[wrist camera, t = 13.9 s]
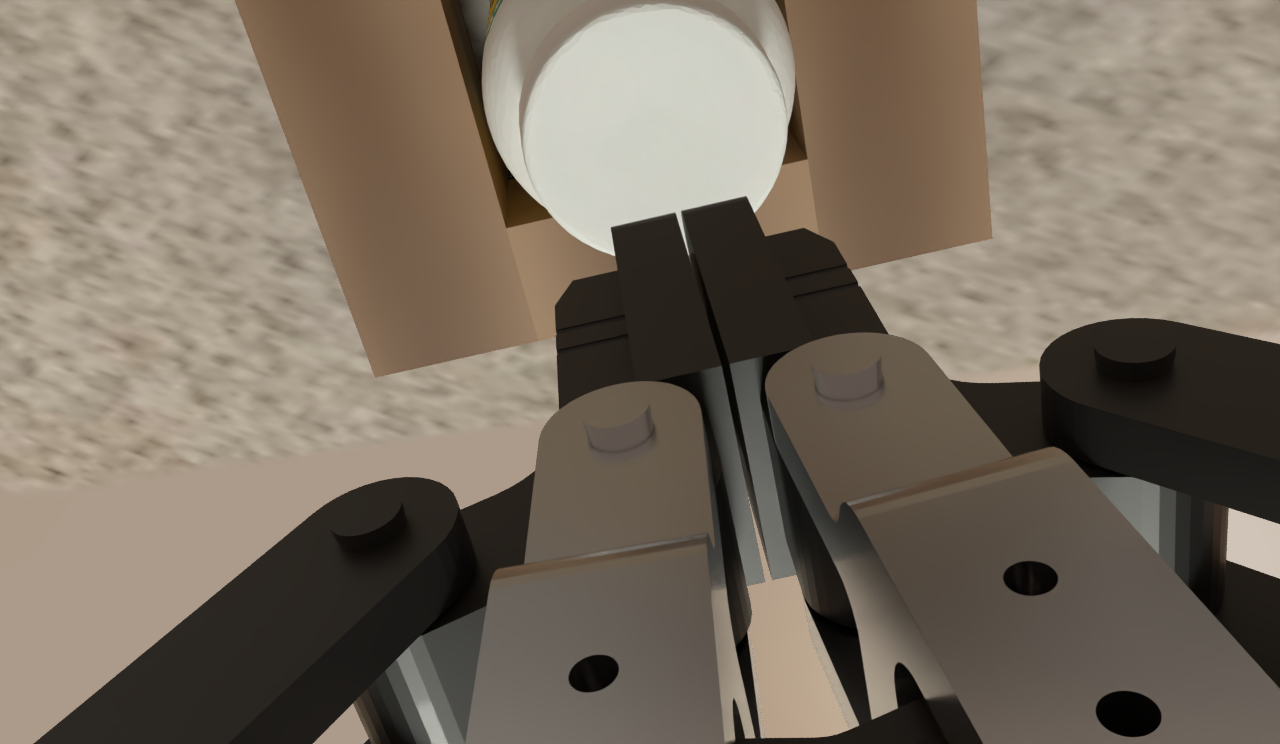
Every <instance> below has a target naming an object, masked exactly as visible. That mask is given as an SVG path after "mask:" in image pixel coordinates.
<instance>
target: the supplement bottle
mask: <svg viewBox="0 0 1280 744" xmlns="http://www.w3.org/2000/svg"><path fill="white" fill-rule="evenodd" d="M794 93H795V63H794V55H793V48H792V44H791V39H790V35H789V32H788V29H787V26H786V23H785V20H784V18H783V15H782V13H781V11H780V9H779V7H778V5H777V3H776V1H775V0H491V3H490V12H489V19H488V28H487V34H486V39H485V43H484V50H483V60H482V94H483V103H484V109H485V114H486V118H487V122H488V126H489V129H490V132H491V135H492V138H493V141H494V143H495V145H496V147H497V150H498V152H499V153H500V155H501V157H502V159H503V161H504V163H505V164H506V166H507V168H508V169H509V171H510V172H511V173H512V175H513V176H514V177H515V179H516V180H517V181H518V182H519V183H520V185H521V186H522V187H523V188H524V189H525V190H526V191H527V192H528V193H529V194H530V195H531V196H532V197H533V198H534V199H535V200H536V201H537V202H538V203H540V204H541V205H542V206H544V207H545V208H546V209H547V210H548V212H549V213H550V214H551V216H552V217H553V218H554V219H555V220H556V221H557V222H558V223H559V224H560V225H561V226H562V227H563V228H564V229H565V230H566V231H567V232H569V233H570V234H571V235H573V236H574V237H576V238H577V239H579V240H580V241H582V242H583V243H585V244H587V245H589V246H591V247H593V248H595V249H597V250H599V251H602V252H605V253H608V254H610V255H613V256H615V252H614V245H613V239H612V233H611V227H613V226H617V225H622V224H626V223H631V222H635V221H639V220H644V219H648V218H652V217H657V216H661V215H665V214H670V213H674V212H675V213H676V216H677V219H678V222H679V226H680V229H681V232H682V236H683V239H684V242H685V246H686V249H687V252H688V247H687V243H686V238H685V233H684V228H683V222H682V216H681V211H682V210H687V209H691V208H695V207H700V206H704V205H708V204H713V203H717V202H722V201H726V200H730V199H735V198H739V197H743V196H747V198H748V200H749V202H750V204H751V206H752V209H753V211H754V213H755V212H756V211H757V210H758V208H759V207H760V206H761V205H762V203H763V202H764V200H765V199H766V197H767V196H768V194H769V192H770V191H771V189H772V187H773V186H774V183H775V181H776V179H777V177H778V175H779V172H780V168H781V165H782V162H783V158H784V154H785V150H786V144H787V131H788V124H789V121H790V117H791V113H792V108H793V102H794ZM688 255H689V252H688Z"/></svg>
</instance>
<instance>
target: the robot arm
mask: <svg viewBox="0 0 1280 744" xmlns="http://www.w3.org/2000/svg"><path fill="white" fill-rule="evenodd" d="M681 216H682V222H683V228H684V233H685V238H686V243H687V247H688V252H689V256H688V252H687V249H686V246H685V242H684V239H683V236H682V232H681V229H680V226H679V222H678V219H677V216H676V213H675V212H674V213H670V214H665V215H661V216H657V217H652V218H648V219H644V220H639V221H635V222H631V223H626V224H622V225H617V226H613V227H611V233H612V239H613V245H614V252H615V258H616V264H617V271H612V272H608V273H604V274H599V275H595V276H590V277H586V278H582V279H577V280H573V281H572V282H571V284H570V285H569V286H568V288H567V289H566V291H565V292H564V293H563V295H562V296H561V298H560V299H559V300H558V302H557V303H556V305H555V326H556V333H557V335H556V348H557V354H558V355H557V371H558V393H559V411H557V412H556V413H555V414H554V415H553V416H552V417H551V418H550V419H549V421H548V422H547V423H546V424H545V426H544V428H543V430H542V431H541V434H540V438H539V444H538V452H537V461H536V469H535V471H534V472H533V473H532V474H530V475H529V476H528V477H526V478H525V479H524V480H522V481H520V482H519V483H517V484H516V485H514V486H512V487H510V488H509V489H506V490H504V491H502V492H500V493H498V494H496V495H494V496H492V497H489V498H487V499H485V500H482V501H480V502H478V503H476V504H473V505H471V506H469V507H466V508H464V509H462V510H460V508H459V505H458V502H457V500H456V498H455V496H454V493H453V492H452V491H451V490H450V489H449V488H448V487H446V486H444V485H443V484H441V483H440V482H436V481H434V480H430V479H425V478H418V477H403V478H393V479H388V480H382V481H378V482H375V483H371V484H368V485H364V486H362V487H359V488H357V489H354V490H351V491H349V492H347V493H345V494H343V495H341V496H339V497H337V498H336V499H334V500H332V501H330V502H329V503H327V504H326V505H324V506H323V507H321V508H320V509H319V510H317V511H316V512H315V513H313V514H312V515H311V516H310V517H308V518H307V519H306V520H305V521H304V522H302V523H301V524H300V525H299V526H298V527H296V528H295V529H294V530H293V531H291V532H290V533H289V534H288V535H287V536H285V537H284V538H283V539H282V540H281V541H279V542H278V543H277V544H276V545H274V546H273V547H272V548H271V549H270V550H268V551H267V552H266V553H265V554H264V555H262V556H261V557H260V558H259V559H257V560H256V561H255V562H254V563H253V564H251V566H249V567H248V568H247V569H245V570H244V571H243V572H242V573H241V574H239V575H238V576H237V577H236V578H234V579H233V580H232V581H231V582H229V583H228V584H227V585H226V586H225V587H223V588H222V589H221V590H220V591H219V592H217V593H216V594H215V595H214V596H213V597H211V598H210V599H209V600H208V601H206V602H205V603H204V604H203V605H202V606H201V607H199V608H198V609H197V610H196V611H194V612H193V613H192V614H191V615H189V616H188V617H187V618H186V619H185V620H183V621H182V622H181V623H180V624H178V625H177V626H176V627H175V628H174V629H172V630H171V631H170V632H169V633H168V634H166V635H165V636H164V637H163V638H161V639H160V640H159V641H158V642H157V643H155V644H154V645H153V646H152V647H151V648H150V649H148V650H147V651H146V652H145V653H143V654H142V655H141V656H140V657H138V658H137V659H136V660H135V661H134V662H132V663H131V664H130V665H129V666H128V667H126V668H125V669H124V670H123V671H121V672H120V673H119V674H118V675H116V677H114V678H113V679H112V680H110V681H109V682H108V683H107V684H106V685H104V686H103V687H102V688H101V689H99V690H98V691H97V692H96V693H95V694H93V695H92V696H91V697H90V698H89V699H87V700H86V701H85V702H84V703H83V704H81V705H80V706H79V707H78V708H77V709H75V710H74V711H73V712H72V713H70V714H69V715H68V716H67V717H65V718H64V719H63V720H62V721H61V722H59V723H58V724H57V725H56V726H55V727H53V728H52V729H51V730H50V731H49V732H47V733H46V734H45V735H44V736H42V737H41V738H40V739H39V740H38V741H36V742H35V743H34V744H313V743H314V742H315V741H316V740H317V739H318V738H319V737H320V736H321V735H322V734H323V733H324V732H325V731H326V730H327V729H328V728H329V726H330V725H331V724H332V723H334V722H335V720H337V718H339V717H340V716H341V715H342V714H343V713H344V712H345V711H346V709H348V707H350V706H351V704H352V703H353V704H354V706H355V708H356V711H357V713H358V715H359V717H360V720H361V722H362V724H363V726H364V728H365V731H366V733H367V735H368V737H369V739H368V740H367V741H366V742H365V743H364V744H1280V579H1279V578H1276V577H1273V576H1270V575H1267V574H1264V573H1261V572H1259V571H1256V570H1253V569H1250V568H1247V567H1244V566H1242V565H1238V564H1236V563H1233V562H1230V561H1227V560H1226V551H1227V529H1228V509H1229V508H1231V509H1234V510H1237V511H1241V512H1244V513H1247V514H1250V515H1253V516H1256V517H1260V518H1263V519H1266V520H1269V521H1272V522H1275V523H1278V524H1280V344H1276V343H1271V342H1267V341H1262V340H1258V339H1253V338H1248V337H1244V336H1239V335H1235V334H1230V333H1225V332H1221V331H1216V330H1211V329H1207V328H1202V327H1197V326H1193V325H1188V324H1184V323H1179V322H1173V321H1167V320H1161V319H1149V318H1128V319H1115V320H1108V321H1102V322H1097V323H1093V324H1089V325H1085V326H1083V327H1080V328H1077V329H1074V330H1072V331H1070V332H1068V333H1066V334H1064V335H1062V336H1060V337H1059V338H1058V339H1056V340H1055V341H1053V342H1052V343H1051V344H1050V345H1049V346H1048V347H1047V348H1046V349H1045V351H1044V353H1043V354H1042V356H1041V360H1040V364H1039V367H1040V382H1014V383H970V382H960V381H954V380H949V378H948V377H947V376H946V375H945V374H944V372H943V371H942V370H941V369H940V367H939V366H938V365H937V364H936V363H935V361H934V360H933V359H932V358H931V356H930V355H929V354H928V353H927V352H926V351H925V350H924V349H923V348H922V347H920V346H919V345H917V344H915V343H914V342H912V341H909V340H907V339H904V338H902V337H898V336H894V335H889V334H888V332H887V331H886V329H885V327H884V326H883V324H882V322H881V321H880V319H879V317H878V315H877V314H876V312H875V310H874V309H873V307H872V305H871V304H870V302H869V300H868V298H867V297H866V295H865V293H864V292H863V290H862V288H861V287H860V286H858V282H857V280H856V278H855V276H854V275H853V273H852V271H851V270H850V268H848V266H847V263H846V261H845V260H844V258H843V256H842V254H841V253H840V251H839V249H838V248H837V246H836V244H835V243H834V242H833V241H831V240H829V239H827V238H824V237H822V236H820V235H818V234H816V233H814V232H812V231H810V230H808V229H806V228H800V229H796V230H792V231H787V232H783V233H778V234H774V235H770V236H765V235H764V232H763V230H762V228H761V226H760V224H759V222H758V219H757V217H756V215H755V213H754V211H753V209H752V206H751V204H750V202H749V200H748V198H747V196H743V197H739V198H735V199H730V200H726V201H722V202H717V203H713V204H708V205H704V206H700V207H695V208H691V209H687V210H682V211H681ZM689 257H690V259H689ZM747 493H748V494H747ZM748 497H749V499H748ZM749 500H750V504H751V507H752V510H753V514H754V518H755V521H756V525H757V528H758V532H759V535H760V539H761V542H762V546H763V549H764V553H765V556H766V559H767V563H768V567H769V570H770V574H771V577H772V580H775V579H779V578H784V577H789V576H793V575H797V577H798V580H799V583H800V586H801V589H802V593H803V599H804V605H805V610H806V615H807V621H808V627H809V632H810V636H811V639H812V643H813V645H814V648H815V650H816V652H817V655H818V657H819V659H820V662H821V664H822V666H823V669H824V671H825V673H826V676H827V678H828V680H829V683H830V685H831V687H832V690H833V692H834V694H835V697H836V699H837V701H838V704H839V706H840V708H841V711H842V713H843V715H844V718H845V720H846V723H847V725H848V727H849V729H850V730H848V731H845V732H843V733H840V734H837V735H833V736H829V737H819V738H765V734H764V727H763V720H762V712H761V704H760V697H759V689H758V682H757V674H756V666H755V660H754V653H753V648H752V644H751V639H750V634H749V630H748V628H749V625H750V623H751V615H752V610H751V603H750V598H749V594H748V589H747V586H749V585H754V584H758V583H763V582H765V579H764V574H763V569H762V564H761V559H760V554H759V549H758V544H757V539H756V534H755V529H754V524H753V519H752V514H751V509H750V504H749Z"/></svg>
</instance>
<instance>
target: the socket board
mask: <svg viewBox="0 0 1280 744" xmlns="http://www.w3.org/2000/svg"><path fill="white" fill-rule="evenodd" d="M775 1H776V3H777V5H778V7H779V9H780V11H781V13H782V15H783V18H784V20H785V23H786V26H787V29H788V32H789V35H790V39H791V44H792V48H793V55H794V63H795V93H794V102H793V108H792V113H791V117H790V121H789V124H788V131H787V144H786V150H785V154H784V158H783V162H782V165H781V168H780V172H779V175H778V177H777V179H776V181H775V183H774V186H773V187H772V189H771V191H770V192H769V194H768V196H767V197H766V199H765V200H764V202H763V203H762V205H761V206H760V207H759V208H758V210H757V211H756V212H755V215H756V217H757V219H758V222H759V224H760V226H761V228H762V230H763V232H764V235H765V236H770V235H774V234H778V233H783V232H787V231H792V230H796V229H800V228H806V229H808V230H810V231H812V232H814V233H816V234H818V235H820V236H822V237H824V238H827V239H829V240H831V241H833V242H834V243H835V244H836V246H837V248H838V249H839V251H840V253H841V254H842V256H843V258H844V260H845V261H846V263H847V266H848V268H850V270H854V269H859V268H863V267H868V266H872V265H876V264H881V263H885V262H890V261H894V260H899V259H903V258H908V257H912V256H916V255H921V254H925V253H930V252H934V251H939V250H943V249H947V248H952V247H956V246H961V245H965V244H970V243H974V242H978V241H983V240H987V239H992V227H991V212H990V197H989V183H988V168H987V153H986V138H985V124H984V109H983V94H982V79H981V64H980V50H979V35H978V20H977V5H976V0H775ZM235 2H236V5H237V8H238V10H239V13H240V16H241V18H242V21H243V24H244V26H245V29H246V32H247V34H248V37H249V40H250V42H251V45H252V48H253V50H254V53H255V56H256V59H257V61H258V64H259V67H260V69H261V72H262V75H263V77H264V80H265V83H266V85H267V88H268V91H269V93H270V96H271V99H272V101H273V104H274V107H275V110H276V112H277V115H278V118H279V120H280V123H281V126H282V128H283V131H284V134H285V136H286V139H287V142H288V144H289V147H290V150H291V152H292V155H293V158H294V161H295V163H296V166H297V169H298V171H299V174H300V177H301V179H302V182H303V185H304V187H305V190H306V193H307V195H308V198H309V201H310V203H311V206H312V209H313V212H314V214H315V217H316V220H317V222H318V225H319V228H320V230H321V233H322V236H323V238H324V241H325V244H326V246H327V249H328V252H329V255H330V257H331V260H332V263H333V265H334V268H335V271H336V273H337V276H338V279H339V281H340V284H341V287H342V289H343V292H344V295H345V297H346V300H347V303H348V306H349V308H350V311H351V314H352V316H353V319H354V322H355V324H356V327H357V330H358V332H359V335H360V338H361V340H362V343H363V346H364V348H365V351H366V354H367V357H368V359H369V362H370V365H371V367H372V370H373V373H374V375H375V377H380V376H384V375H389V374H393V373H398V372H402V371H406V370H411V369H415V368H420V367H424V366H429V365H433V364H437V363H442V362H446V361H451V360H455V359H460V358H464V357H469V356H473V355H477V354H482V353H486V352H491V351H495V350H500V349H504V348H508V347H513V346H517V345H522V344H526V343H531V342H535V341H539V340H544V339H548V338H553V337H556V335H557V333H556V326H555V305H556V303H557V302H558V300H559V299H560V298H561V296H562V295H563V293H564V292H565V291H566V289H567V288H568V286H569V285H570V284H571V282H572V281H573V280H577V279H582V278H586V277H590V276H595V275H599V274H604V273H608V272H612V271H617V264H616V258H615V256H613V255H610V254H608V253H605V252H602V251H599V250H597V249H595V248H593V247H591V246H589V245H587V244H585V243H583V242H582V241H580V240H579V239H577V238H576V237H574V236H573V235H571V234H570V233H569V232H567V231H566V230H565V229H564V228H563V227H562V226H561V225H560V224H559V223H558V222H557V221H556V220H555V219H554V218H553V217H552V216H551V214H550V213H549V212H548V210H547V209H546V208H545V207H544V206H542V205H541V204H540V203H538V202H537V201H536V200H535V199H534V198H533V197H532V196H531V195H530V194H529V193H528V192H527V191H526V190H525V189H524V188H523V187H522V186H521V185H520V183H519V182H518V181H517V180H516V179H513V180H509V179H508V176H507V172H506V169H505V165H504V161H503V159H502V157H501V155H500V153H499V152H498V150H497V147H496V145H495V143H494V141H493V138H492V135H491V132H490V129H489V126H488V122H487V118H486V114H485V109H484V103H483V94H482V83H481V79H480V76H479V72H478V69H477V65H476V62H475V58H474V55H473V51H472V47H471V44H470V40H469V37H468V33H467V30H466V26H465V22H464V19H463V15H462V12H461V8H460V5H459V1H458V0H235ZM688 256H689V255H688ZM689 259H690V257H689Z"/></svg>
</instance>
